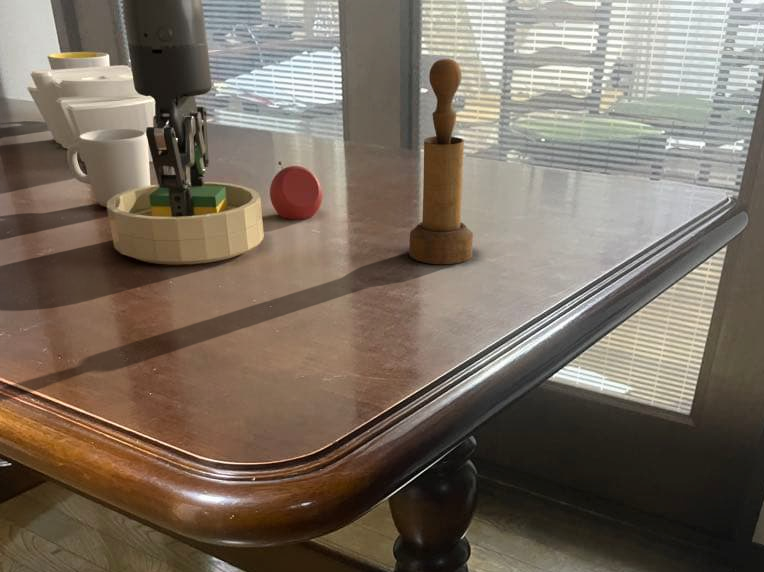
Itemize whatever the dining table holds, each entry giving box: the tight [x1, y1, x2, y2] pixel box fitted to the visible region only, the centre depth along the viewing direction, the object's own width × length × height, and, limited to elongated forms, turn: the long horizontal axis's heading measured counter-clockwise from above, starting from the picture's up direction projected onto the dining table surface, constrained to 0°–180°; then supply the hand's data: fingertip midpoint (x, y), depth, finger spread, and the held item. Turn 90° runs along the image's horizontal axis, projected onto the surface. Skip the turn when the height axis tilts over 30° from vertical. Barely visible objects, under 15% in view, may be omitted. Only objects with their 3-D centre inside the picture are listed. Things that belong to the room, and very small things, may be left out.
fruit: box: [269, 161, 323, 220], centre depth 103 cm, size 6×6×8 cm
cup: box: [66, 129, 151, 208], centre depth 106 cm, size 11×8×8 cm
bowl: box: [106, 181, 265, 266], centre depth 93 cm, size 16×16×5 cm
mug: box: [46, 51, 111, 70], centre depth 156 cm, size 14×10×10 cm
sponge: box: [149, 186, 228, 217], centre depth 93 cm, size 7×4×4 cm, turn 87°
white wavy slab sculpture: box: [26, 64, 155, 163], centre depth 133 cm, size 35×16×11 cm, turn 27°
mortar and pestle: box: [409, 58, 474, 265], centre depth 86 cm, size 7×6×18 cm
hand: (190, 219), depth 94 cm, fingers closed on sponge, 4 cm apart
